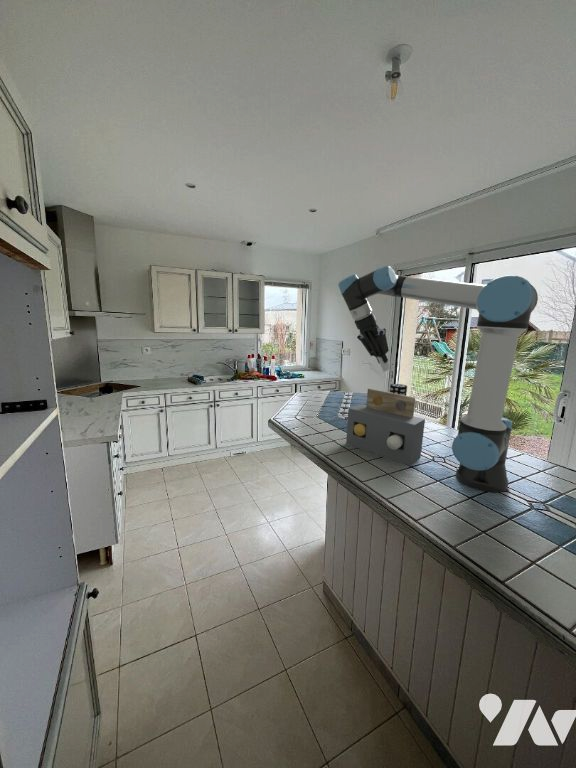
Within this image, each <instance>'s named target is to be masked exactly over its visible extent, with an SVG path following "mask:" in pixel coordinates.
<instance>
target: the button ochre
mask: <svg viewBox="0 0 576 768" xmlns="http://www.w3.org/2000/svg"><path fill="white" fill-rule="evenodd" d="M366 427H367V425H365V424H362V423H359V424H357V425H355V426H354V432H355V434H356V435H358V436H362V435H365V434H366Z"/></svg>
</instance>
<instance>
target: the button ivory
mask: <svg viewBox="0 0 576 768" xmlns="http://www.w3.org/2000/svg"><path fill="white" fill-rule="evenodd" d="M403 443H404V441H403V438H402V437H401V436H400V435H398V434H394V435H392V436H390V437H389V438H388V439H387V445H388V447H389V448H391V449H393V450H396V449H398V448H399V447H401V446H402V445H403Z"/></svg>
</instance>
